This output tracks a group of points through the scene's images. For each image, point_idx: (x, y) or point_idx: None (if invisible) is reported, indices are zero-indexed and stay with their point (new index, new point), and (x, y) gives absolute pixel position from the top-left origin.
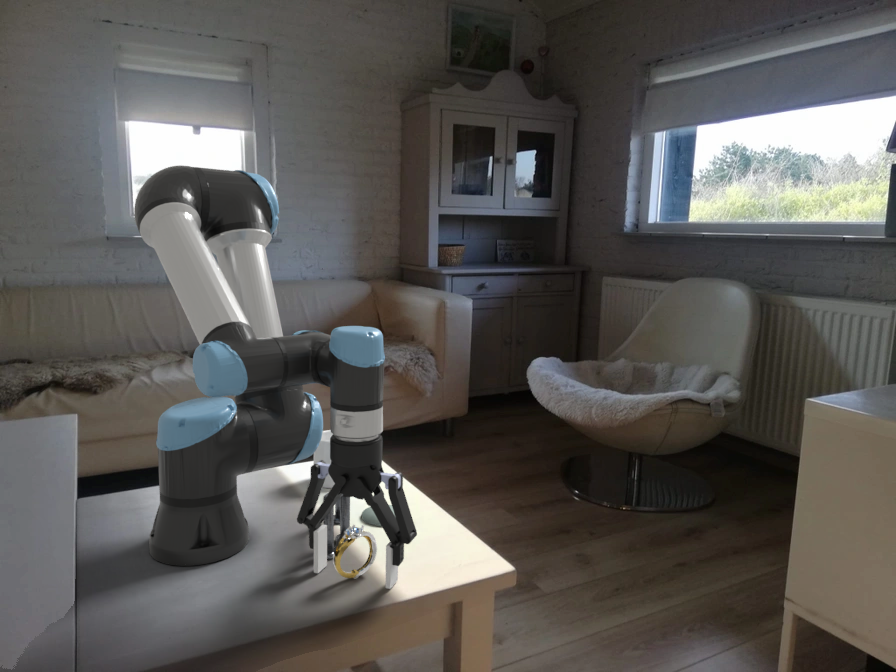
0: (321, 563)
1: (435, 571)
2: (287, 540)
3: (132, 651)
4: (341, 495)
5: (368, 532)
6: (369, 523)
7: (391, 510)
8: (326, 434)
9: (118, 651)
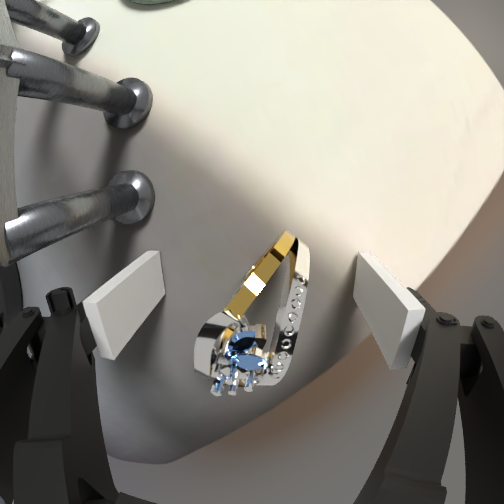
0: (156, 286)
1: (436, 169)
2: (35, 181)
3: (124, 453)
4: (12, 133)
5: (291, 319)
6: (153, 3)
7: (456, 405)
8: None
9: (116, 451)
